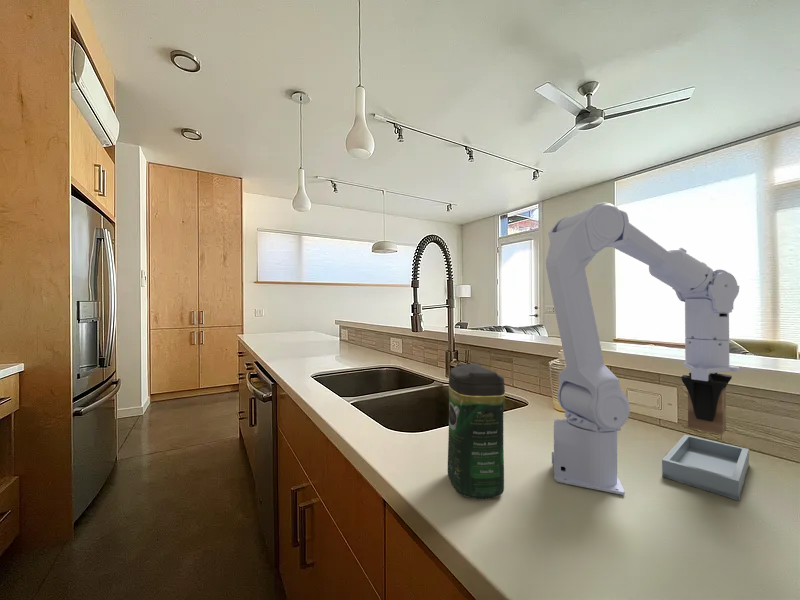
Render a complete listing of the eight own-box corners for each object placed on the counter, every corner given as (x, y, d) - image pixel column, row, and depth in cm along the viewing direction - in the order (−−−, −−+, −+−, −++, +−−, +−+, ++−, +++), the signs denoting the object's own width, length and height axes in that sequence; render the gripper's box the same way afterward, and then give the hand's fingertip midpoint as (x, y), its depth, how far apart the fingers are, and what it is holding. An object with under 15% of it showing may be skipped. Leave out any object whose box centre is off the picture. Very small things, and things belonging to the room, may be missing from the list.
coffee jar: (512, 501, 48) (513, 371, 48) (458, 503, 47) (459, 371, 48) (488, 469, 58) (489, 360, 58) (442, 470, 57) (444, 360, 57)
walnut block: (722, 434, 55) (722, 392, 56) (688, 427, 59) (687, 387, 59) (726, 428, 58) (725, 388, 58) (693, 422, 62) (692, 383, 62)
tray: (738, 500, 49) (738, 481, 49) (662, 476, 56) (662, 459, 56) (749, 464, 61) (748, 449, 61) (684, 448, 68) (684, 434, 68)
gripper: (733, 343, 51) (734, 433, 51) (742, 338, 61) (743, 414, 60) (674, 339, 56) (675, 420, 56) (691, 335, 66) (692, 405, 66)
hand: (707, 416), depth 59 cm, fingers closed on walnut block, 4 cm apart
